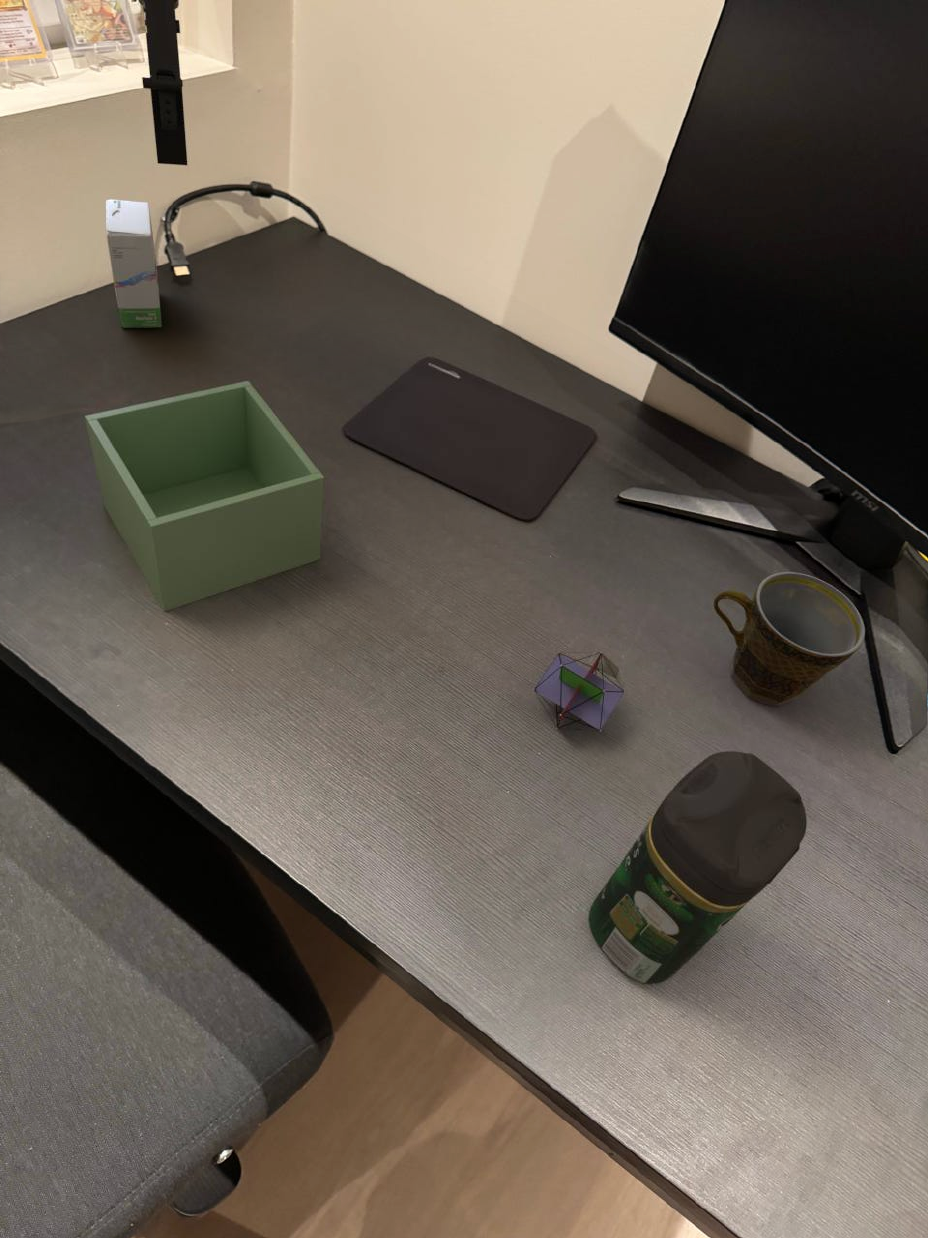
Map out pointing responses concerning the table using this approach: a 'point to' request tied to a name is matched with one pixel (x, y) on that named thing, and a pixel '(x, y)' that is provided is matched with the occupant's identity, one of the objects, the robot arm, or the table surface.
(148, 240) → the ink box
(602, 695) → the geometric puzzle
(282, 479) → the open square box
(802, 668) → the ceramic cup
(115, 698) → the table surface
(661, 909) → the coffee jar
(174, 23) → the robot arm
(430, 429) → the mouse pad
